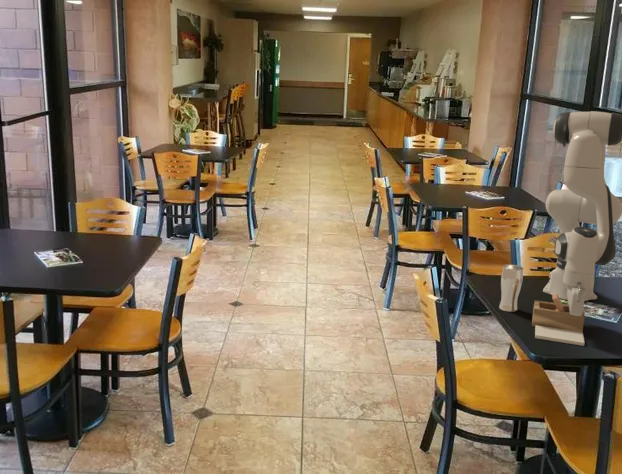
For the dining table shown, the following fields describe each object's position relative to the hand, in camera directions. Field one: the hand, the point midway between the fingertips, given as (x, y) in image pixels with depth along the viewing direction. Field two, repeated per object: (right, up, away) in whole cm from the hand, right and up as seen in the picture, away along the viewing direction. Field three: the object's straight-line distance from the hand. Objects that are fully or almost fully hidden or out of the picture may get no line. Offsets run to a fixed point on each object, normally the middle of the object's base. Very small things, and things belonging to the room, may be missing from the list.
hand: (572, 320), depth 209 cm
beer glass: (-16, +2, +16) cm, 22 cm away
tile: (-4, +2, +1) cm, 4 cm away
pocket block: (-4, -2, +2) cm, 5 cm away
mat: (-7, -4, -7) cm, 11 cm away
